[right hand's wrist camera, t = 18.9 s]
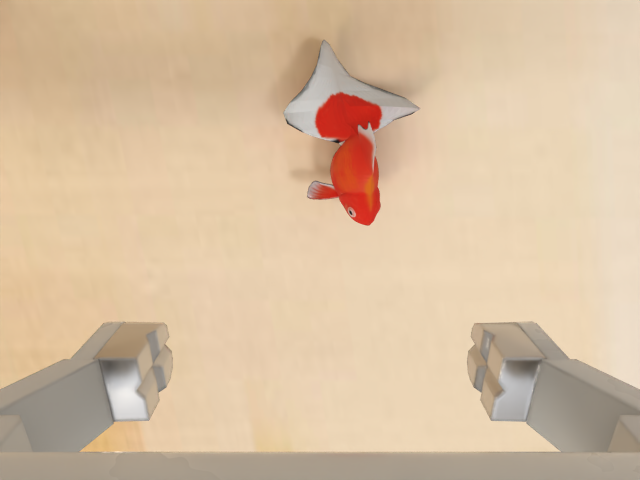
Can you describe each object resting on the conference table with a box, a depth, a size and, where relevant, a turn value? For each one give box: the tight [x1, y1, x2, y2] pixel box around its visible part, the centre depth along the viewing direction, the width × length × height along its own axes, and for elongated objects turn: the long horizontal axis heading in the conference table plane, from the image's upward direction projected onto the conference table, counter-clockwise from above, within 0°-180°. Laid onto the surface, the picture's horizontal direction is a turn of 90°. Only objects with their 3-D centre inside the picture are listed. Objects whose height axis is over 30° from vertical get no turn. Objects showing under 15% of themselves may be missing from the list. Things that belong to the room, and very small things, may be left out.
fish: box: [284, 40, 420, 225], centre depth 35 cm, size 11×16×10 cm
